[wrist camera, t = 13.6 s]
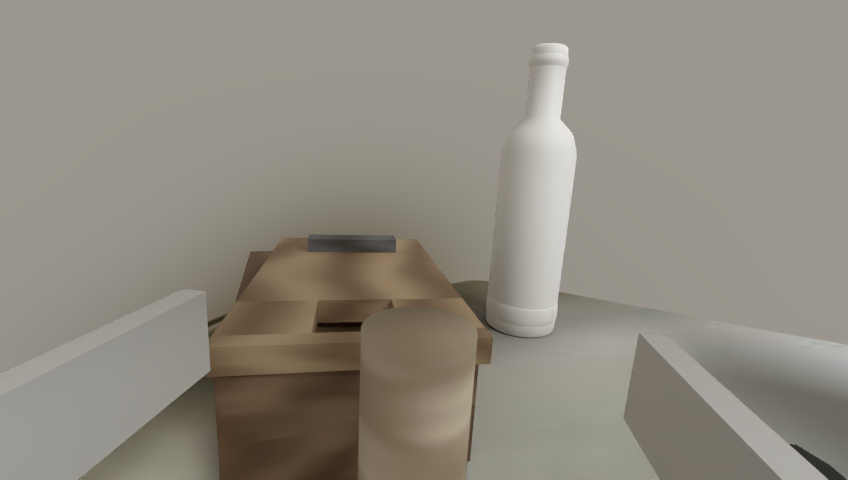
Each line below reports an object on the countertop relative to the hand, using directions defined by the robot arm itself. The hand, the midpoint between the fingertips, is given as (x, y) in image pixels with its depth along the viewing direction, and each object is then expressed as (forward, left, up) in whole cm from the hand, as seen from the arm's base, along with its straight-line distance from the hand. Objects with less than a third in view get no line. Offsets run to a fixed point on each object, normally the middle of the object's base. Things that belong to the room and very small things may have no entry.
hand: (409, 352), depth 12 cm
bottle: (-22, -27, -13) cm, 37 cm away
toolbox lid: (-2, -19, -5) cm, 20 cm away
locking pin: (0, +1, -13) cm, 13 cm away
